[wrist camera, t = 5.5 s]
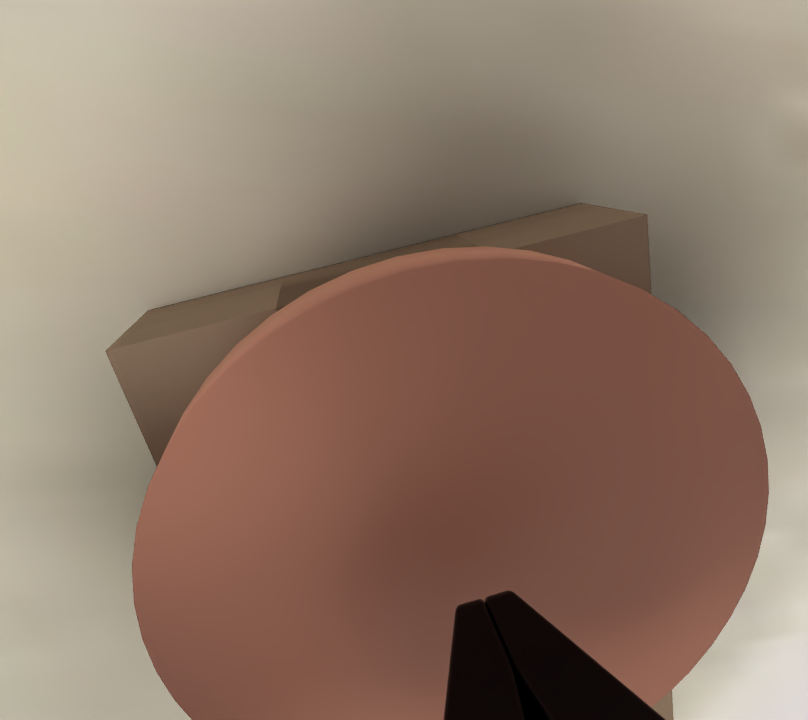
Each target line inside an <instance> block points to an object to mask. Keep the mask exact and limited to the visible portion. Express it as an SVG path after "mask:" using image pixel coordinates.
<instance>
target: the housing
mask: <svg viewBox="0 0 808 720" xmlns="http://www.w3.org/2000/svg"><path fill="white" fill-rule="evenodd" d="M484 246H487V247H498V248H509V249H520V250H530V251H534V252H538V253H542V254H547V255H551V256H555V257H559V258H563V259H567V260H571V261H573V262H576V263H578V264H581V265H583V266H586V267H588V268H591V269H593V270H596V271H598V272H601V273H603V274H606V275H608V276H611V277H613V278H616V279H618V280H621V281H623V282H625V283H628V284H630V285H633V286H635V287H638V288H640V289H643V290H644V291H646V292H648V293H649V294H651V280H650V261H649V242H648V223H647V215H646V214H640V213H634V212H628V211H623V210H617V209H611V208H606V207H600V206H594V205H588V204H583V203H580V204H576V205H572V206H568V207H564V208H559V209H555V210H551V211H547V212H543V213H539V214H535V215H531V216H527V217H523V218H519V219H515V220H511V221H507V222H503V223H499V224H495V225H491V226H487V227H483V228H479V229H475V230H471V231H467V232H463V233H459V234H455V235H451V236H447V237H443V238H439V239H435V240H430V241H426V242H422V243H418V244H414V245H410V246H406V247H402V248H398V249H394V250H390V251H386V252H382V253H378V254H374V255H370V256H366V257H362V258H358V259H354V260H350V261H346V262H342V263H338V264H334V265H330V266H326V267H322V268H318V269H314V270H310V271H306V272H302V273H297V274H293V275H289V276H285V277H281V278H277V279H273V280H269V281H265V282H261V283H257V284H253V285H249V286H245V287H241V288H237V289H233V290H229V291H225V292H221V293H217V294H213V295H209V296H205V297H201V298H197V299H193V300H189V301H185V302H181V303H177V304H173V305H168V306H164V307H160V308H156V309H152V310H148V311H147V312H146V313H145V314H144V315H143V316H142V317H141V318H140V319H139V320H138V321H137V322H136V323H135V324H133V325H132V326H131V327H130V328H129V329H128V330H127V331H126V332H125V333H124V334H123V335H122V336H121V337H120V338H119V339H118V340H117V341H116V342H115V343H113V344H112V345H111V346H110V347H109V348H108V349H107V350H106V354H107V356H108V358H109V360H110V362H111V365H112V367H113V369H114V371H115V374H116V376H117V378H118V380H119V383H120V385H121V387H122V389H123V392H124V394H125V396H126V398H127V401H128V403H129V405H130V407H131V409H132V412H133V414H134V416H135V418H136V421H137V423H138V425H139V427H140V430H141V432H142V434H143V436H144V439H145V441H146V443H147V445H148V447H149V450H150V452H151V454H152V456H153V459H154V461H155V463H156V465H157V466H158V464H159V462H160V460H161V458H162V456H163V453H164V451H165V449H166V447H167V445H168V443H169V441H170V439H171V437H172V435H173V433H174V431H175V429H176V427H177V425H178V423H179V421H180V419H181V417H182V415H183V413H184V411H185V410H186V408H187V407H188V405H189V404H190V402H191V401H192V399H193V398H194V396H195V395H196V393H197V392H198V390H199V389H200V387H201V386H202V384H203V383H204V381H205V380H206V378H207V377H208V376H209V375H210V374H211V372H212V371H213V370H214V369H215V368H216V367H217V366H218V365H219V364H220V362H221V361H222V360H223V359H224V358H225V357H226V356H227V355H228V353H229V352H230V351H231V350H232V349H233V348H234V347H235V346H236V345H237V344H238V343H239V342H240V341H241V340H243V339H244V338H245V337H246V336H247V335H248V334H250V333H251V332H252V331H253V330H254V329H255V328H257V327H258V326H259V325H260V324H261V323H263V322H264V321H265V320H266V319H267V318H268V317H270V316H271V315H272V314H274V313H276V312H277V311H279V310H280V309H282V308H283V307H285V306H286V305H288V304H290V303H291V302H293V301H294V300H296V299H297V298H299V297H300V296H302V295H304V294H305V293H307V292H308V291H310V290H312V289H314V288H316V287H318V286H321V285H323V284H325V283H327V282H329V281H331V280H333V279H335V278H338V277H340V276H342V275H344V274H346V273H348V272H350V271H353V270H356V269H359V268H362V267H365V266H368V265H371V264H375V263H378V262H381V261H384V260H387V259H390V258H393V257H397V256H402V255H408V254H413V253H419V252H424V251H430V250H435V249H441V248H462V247H484ZM651 708H653V709H654V710H655V711H656V712H657V713H658V714H660V715H661V716H662V717H663V718H664V719H666V720H673V703H672V690H671V691H670V692H669V693H668V694H667V695H666V696H665V697H663V698H662V699H661V700H660V701H659V702H657V703H656V704H655V705H654V706H653V707H651Z"/></svg>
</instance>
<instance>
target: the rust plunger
mask: <svg viewBox="0 0 808 720" xmlns="http://www.w3.org/2000/svg"><path fill="white" fill-rule="evenodd" d="M768 495H769V486H768V462H767V455H766V450H765V445H764V440H763V435H762V430H761V425H760V423H759V420H758V417H757V415H756V412H755V409H754V407H753V404H752V401H751V399H750V396H749V394H748V392H747V390H746V389H745V387H744V385H743V383H742V382H741V380H740V378H739V377H738V375H737V373H736V371H735V370H734V368H733V366H732V365H731V363H730V362H729V361H728V360H727V358H726V357H725V356H724V355H723V354H722V352H721V351H720V350H719V349H718V348H717V346H716V345H715V344H714V343H713V342H712V341H711V339H710V338H709V337H708V336H707V335H706V334H705V333H704V332H703V331H701V330H700V329H699V328H698V327H697V326H695V325H694V324H693V323H692V322H691V321H690V320H688V319H687V318H686V317H685V316H684V315H683V314H681V313H680V312H679V311H678V310H676V309H674V308H673V307H671V306H669V305H668V304H666V303H664V302H663V301H661V300H659V299H658V298H656V297H654V296H653V295H651V294H649V293H648V292H646V291H644V290H643V289H640V288H638V287H635V286H633V285H630V284H628V283H625V282H623V281H621V280H618V279H616V278H613V277H611V276H608V275H606V274H603V273H601V272H598V271H596V270H593V269H591V268H588V267H586V266H583V265H581V264H578V263H576V262H573V261H571V260H567V259H563V258H559V257H555V256H551V255H547V254H542V253H538V252H534V251H530V250H520V249H509V248H498V247H487V246H484V247H462V248H441V249H435V250H430V251H424V252H419V253H413V254H408V255H402V256H397V257H393V258H390V259H387V260H384V261H381V262H378V263H375V264H371V265H368V266H365V267H362V268H359V269H356V270H353V271H350V272H348V273H346V274H344V275H342V276H340V277H338V278H335V279H333V280H331V281H329V282H327V283H325V284H323V285H321V286H318V287H316V288H314V289H312V290H310V291H308V292H307V293H305V294H304V295H302V296H300V297H299V298H297V299H296V300H294V301H293V302H291V303H290V304H288V305H286V306H285V307H283V308H282V309H280V310H279V311H277V312H276V313H274V314H272V315H271V316H270V317H268V318H267V319H266V320H265V321H264V322H263V323H261V324H260V325H259V326H258V327H257V328H255V329H254V330H253V331H252V332H251V333H250V334H248V335H247V336H246V337H245V338H244V339H243V340H241V341H240V342H239V343H238V344H237V345H236V346H235V347H234V348H233V349H232V350H231V351H230V352H229V353H228V355H227V356H226V357H225V358H224V359H223V360H222V361H221V362H220V364H219V365H218V366H217V367H216V368H215V369H214V370H213V371H212V372H211V374H210V375H209V376H208V377H207V378H206V380H205V381H204V383H203V384H202V386H201V387H200V389H199V390H198V392H197V393H196V395H195V396H194V398H193V399H192V401H191V402H190V404H189V405H188V407H187V408H186V410H185V411H184V413H183V415H182V417H181V419H180V421H179V423H178V425H177V427H176V429H175V431H174V433H173V435H172V437H171V439H170V441H169V443H168V445H167V447H166V449H165V451H164V453H163V456H162V458H161V460H160V462H159V464H158V466H157V468H156V471H155V473H154V475H153V477H152V479H151V481H150V483H149V486H148V488H147V492H146V495H145V499H144V502H143V506H142V509H141V513H140V517H139V520H138V524H137V527H136V536H135V545H134V554H133V562H132V575H133V591H134V605H135V610H136V614H137V618H138V622H139V626H140V631H141V635H142V639H143V642H144V644H145V646H146V649H147V651H148V653H149V656H150V658H151V660H152V663H153V665H154V667H155V670H156V672H157V673H158V675H159V677H160V678H161V680H162V681H163V683H164V684H165V686H166V687H167V689H168V691H169V692H170V694H171V695H172V697H173V698H174V700H175V701H176V702H177V703H178V705H179V706H180V707H181V708H182V709H183V710H184V711H185V712H186V713H187V715H188V716H189V717H190V718H191V719H192V720H444V711H445V701H446V692H447V683H448V673H449V664H450V655H451V646H452V636H453V627H454V618H455V610H456V607H457V606H458V605H460V604H463V603H467V602H470V601H473V600H477V599H482V600H483V601H484V602H485V599H486V598H487V597H488V596H490V595H494V594H497V593H500V592H504V591H508V590H509V591H513V592H514V593H515V594H517V595H518V596H519V597H520V598H522V599H523V600H524V601H525V602H526V603H527V604H529V605H530V606H531V607H532V608H533V609H535V610H536V611H537V612H538V613H539V614H541V615H542V616H543V617H544V618H545V619H547V620H548V621H549V622H550V623H551V624H552V625H554V626H555V627H556V628H557V629H558V630H560V631H561V632H562V633H563V634H564V635H566V636H567V637H568V638H569V639H570V640H572V641H573V642H574V643H575V644H576V645H577V646H579V647H580V648H581V649H582V650H583V651H585V652H586V653H587V654H588V655H589V656H591V657H592V658H593V659H594V660H595V661H597V662H598V663H599V664H600V665H601V666H602V667H604V668H605V669H606V670H607V671H608V672H610V673H611V674H612V675H613V676H614V677H616V678H617V679H618V680H619V681H620V682H622V683H623V684H624V685H625V686H626V687H628V688H629V689H630V690H631V691H632V692H633V693H635V694H636V695H637V696H638V697H639V698H641V699H642V700H643V701H644V702H645V703H647V704H648V705H649V706H650V707H653V706H654V705H655V704H656V703H657V702H659V701H660V700H661V699H662V698H663V697H665V696H666V695H667V694H668V693H669V692H670V691H671V690H672V689H673V688H674V687H675V686H676V685H677V684H678V683H679V682H680V681H681V680H682V679H683V678H684V677H685V676H686V675H687V674H688V673H689V672H690V671H691V670H692V668H693V667H694V666H695V665H696V664H697V662H698V661H699V660H700V659H701V658H702V656H703V655H704V654H705V653H706V652H707V650H708V649H709V648H710V647H711V645H712V644H713V643H714V641H715V640H716V638H717V637H718V635H719V634H720V632H721V631H722V629H723V628H724V626H725V625H726V623H727V622H728V620H729V619H730V617H731V615H732V613H733V611H734V609H735V607H736V606H737V604H738V602H739V600H740V598H741V596H742V594H743V592H744V590H745V588H746V586H747V583H748V581H749V578H750V575H751V573H752V570H753V568H754V565H755V562H756V560H757V557H758V553H759V549H760V545H761V541H762V537H763V533H764V528H765V523H766V514H767V504H768Z"/></svg>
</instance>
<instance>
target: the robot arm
mask: <svg viewBox="0 0 808 720" xmlns="http://www.w3.org/2000/svg"><path fill="white" fill-rule="evenodd" d="M444 720H666V719H664V718H663V717H662V716H661V715H660V714H658V713H657V712H656V711H655V710H654V709H653V708H651V707H650V706H649V705H648V704H647V703H645V702H644V701H643V700H642V699H641V698H639V697H638V696H637V695H636V694H635V693H633V692H632V691H631V690H630V689H629V688H628V687H626V686H625V685H624V684H623V683H622V682H620V681H619V680H618V679H617V678H616V677H614V676H613V675H612V674H611V673H610V672H608V671H607V670H606V669H605V668H604V667H602V666H601V665H600V664H599V663H598V662H597V661H595V660H594V659H593V658H592V657H591V656H589V655H588V654H587V653H586V652H585V651H583V650H582V649H581V648H580V647H579V646H577V645H576V644H575V643H574V642H573V641H572V640H570V639H569V638H568V637H567V636H566V635H564V634H563V633H562V632H561V631H560V630H558V629H557V628H556V627H555V626H554V625H552V624H551V623H550V622H549V621H548V620H547V619H545V618H544V617H543V616H542V615H541V614H539V613H538V612H537V611H536V610H535V609H533V608H532V607H531V606H530V605H529V604H527V603H526V602H525V601H524V600H523V599H522V598H520V597H519V596H518V595H517V594H515V593H514V592H513V591H509V590H508V591H504V592H500V593H497V594H494V595H490V596H488V597H487V598H486V599H485V602H484V601H483V600H482V599H477V600H473V601H470V602H467V603H463V604H460V605H458V606H457V607H456V610H455V618H454V627H453V636H452V646H451V655H450V664H449V673H448V683H447V692H446V701H445V711H444Z"/></svg>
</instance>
